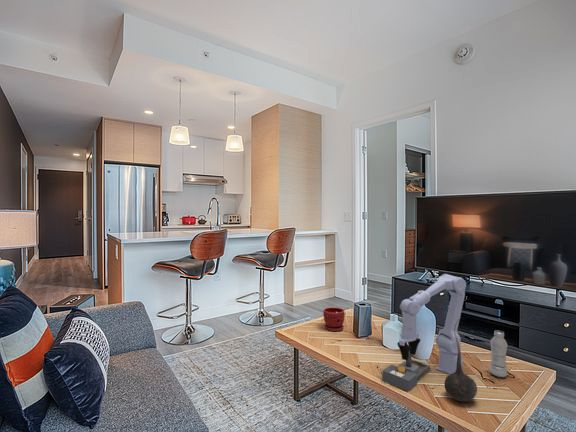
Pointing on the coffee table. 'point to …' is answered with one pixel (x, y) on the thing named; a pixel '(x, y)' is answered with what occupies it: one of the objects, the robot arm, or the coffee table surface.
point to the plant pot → (334, 319)
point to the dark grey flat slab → (421, 369)
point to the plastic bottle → (498, 354)
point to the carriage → (410, 365)
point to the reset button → (401, 369)
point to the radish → (460, 382)
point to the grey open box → (399, 378)
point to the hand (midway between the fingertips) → (408, 356)
